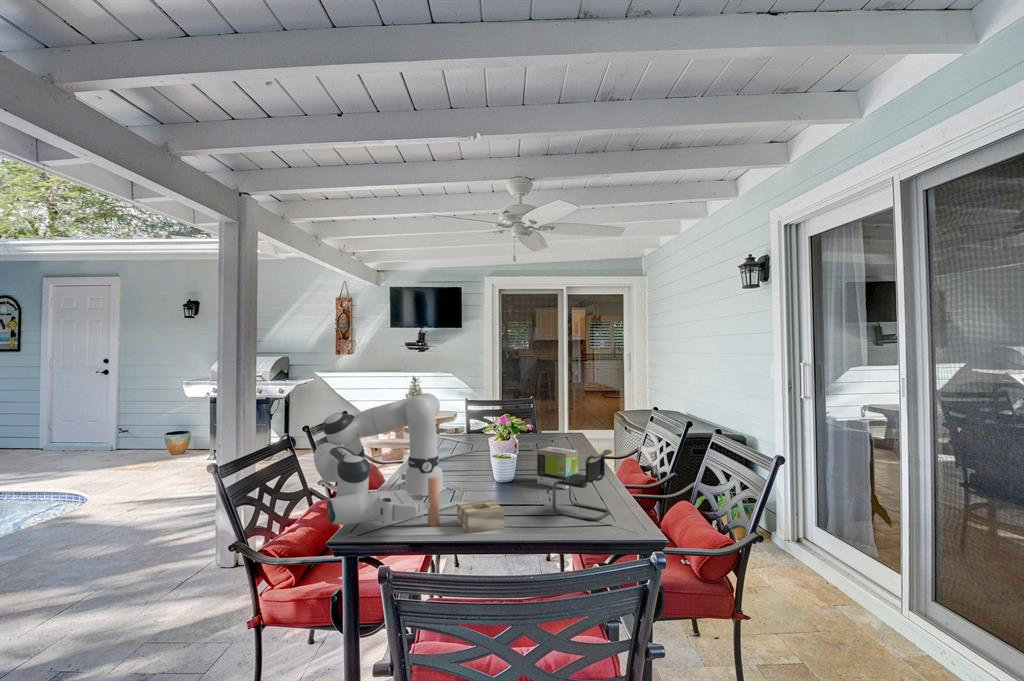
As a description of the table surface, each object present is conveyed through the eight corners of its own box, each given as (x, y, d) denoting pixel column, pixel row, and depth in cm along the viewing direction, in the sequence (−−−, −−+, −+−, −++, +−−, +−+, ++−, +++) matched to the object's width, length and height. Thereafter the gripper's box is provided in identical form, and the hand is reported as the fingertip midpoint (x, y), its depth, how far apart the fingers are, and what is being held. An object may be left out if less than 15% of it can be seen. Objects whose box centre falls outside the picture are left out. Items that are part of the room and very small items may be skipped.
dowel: (426, 523, 169) (427, 477, 170) (437, 522, 171) (437, 476, 171) (429, 527, 166) (429, 480, 166) (440, 525, 167) (440, 479, 168)
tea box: (579, 485, 218) (579, 449, 218) (565, 490, 210) (565, 453, 210) (550, 479, 228) (550, 445, 228) (536, 483, 220) (536, 448, 220)
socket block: (457, 521, 172) (457, 503, 172) (491, 517, 176) (491, 499, 176) (468, 533, 160) (468, 514, 161) (504, 528, 165) (504, 509, 165)
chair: (596, 522, 170) (596, 455, 171) (551, 513, 181) (551, 449, 181) (613, 512, 181) (613, 449, 181) (570, 504, 191) (570, 444, 191)
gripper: (377, 506, 171) (418, 501, 177) (387, 525, 153) (433, 520, 158) (377, 487, 171) (418, 483, 177) (388, 504, 153) (433, 499, 158)
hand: (426, 500), depth 167 cm, fingers open, 8 cm apart
